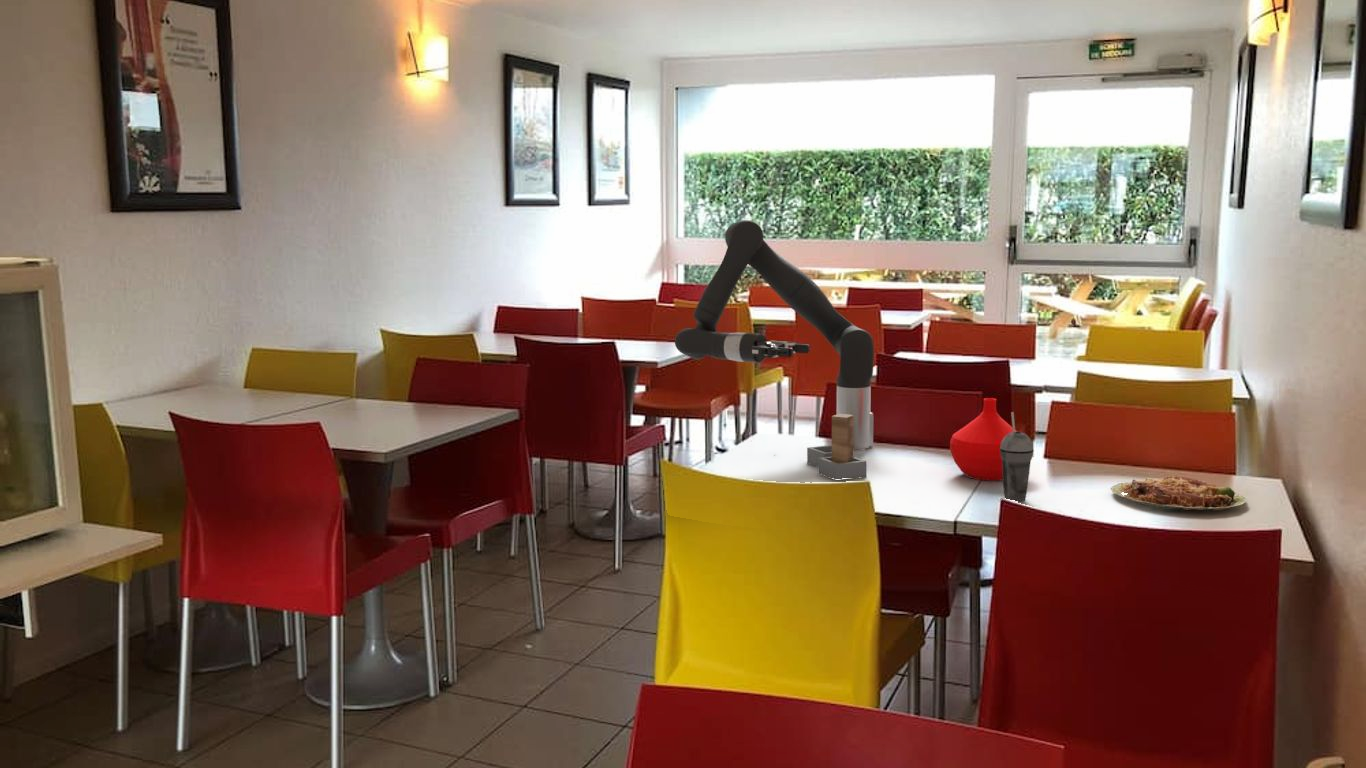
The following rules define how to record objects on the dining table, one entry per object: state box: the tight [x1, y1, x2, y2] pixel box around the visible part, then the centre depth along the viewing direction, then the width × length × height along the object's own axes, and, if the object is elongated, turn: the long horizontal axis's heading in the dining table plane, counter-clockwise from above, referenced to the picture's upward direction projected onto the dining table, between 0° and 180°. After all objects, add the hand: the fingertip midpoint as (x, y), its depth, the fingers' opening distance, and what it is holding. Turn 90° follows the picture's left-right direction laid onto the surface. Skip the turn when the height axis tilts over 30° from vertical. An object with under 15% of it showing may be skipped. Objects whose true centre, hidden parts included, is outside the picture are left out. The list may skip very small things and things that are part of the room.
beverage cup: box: [1000, 411, 1034, 503], centre depth 246 cm, size 7×7×20 cm
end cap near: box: [817, 456, 868, 482], centre depth 272 cm, size 8×8×4 cm
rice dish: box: [1110, 475, 1247, 511], centre depth 246 cm, size 28×28×5 cm
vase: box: [949, 397, 1019, 482], centre depth 269 cm, size 18×18×19 cm
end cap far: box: [806, 444, 832, 468], centre depth 285 cm, size 8×8×4 cm
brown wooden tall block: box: [831, 413, 854, 464], centre depth 271 cm, size 4×4×14 cm
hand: (800, 350), depth 276 cm, fingers open, 8 cm apart
